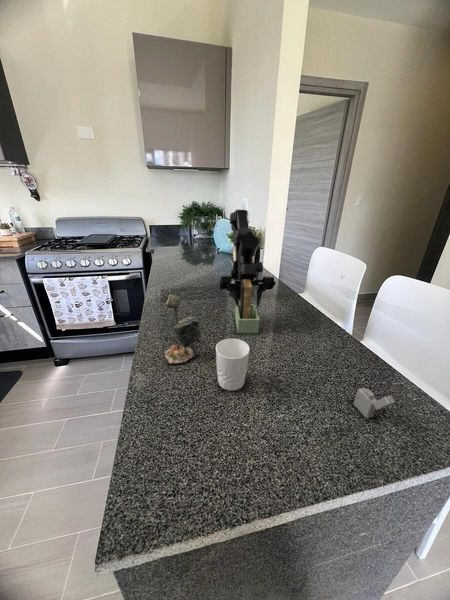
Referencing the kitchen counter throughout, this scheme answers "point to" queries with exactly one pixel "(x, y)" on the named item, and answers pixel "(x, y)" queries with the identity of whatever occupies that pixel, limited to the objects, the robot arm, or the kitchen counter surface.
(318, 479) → the kitchen counter surface
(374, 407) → the grey angled bracket
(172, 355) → the plant with pod
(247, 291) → the eraser
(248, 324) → the holder
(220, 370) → the white cup
